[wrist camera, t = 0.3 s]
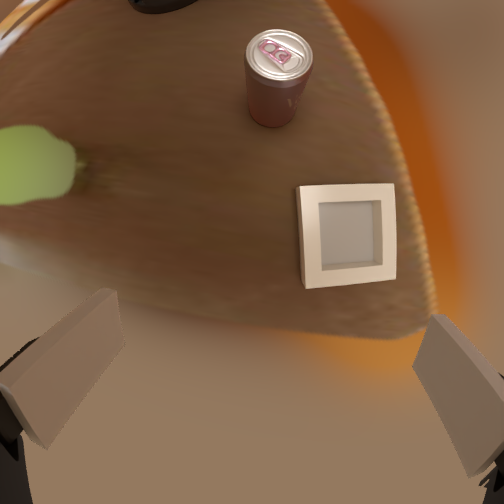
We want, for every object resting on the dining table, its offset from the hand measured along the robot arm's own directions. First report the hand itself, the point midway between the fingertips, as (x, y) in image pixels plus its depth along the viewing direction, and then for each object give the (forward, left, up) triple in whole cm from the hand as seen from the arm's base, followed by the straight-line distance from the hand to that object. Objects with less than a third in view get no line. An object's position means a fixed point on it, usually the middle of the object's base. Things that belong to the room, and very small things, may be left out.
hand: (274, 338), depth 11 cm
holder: (-1, +11, -27) cm, 29 cm away
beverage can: (-18, +3, -27) cm, 32 cm away
